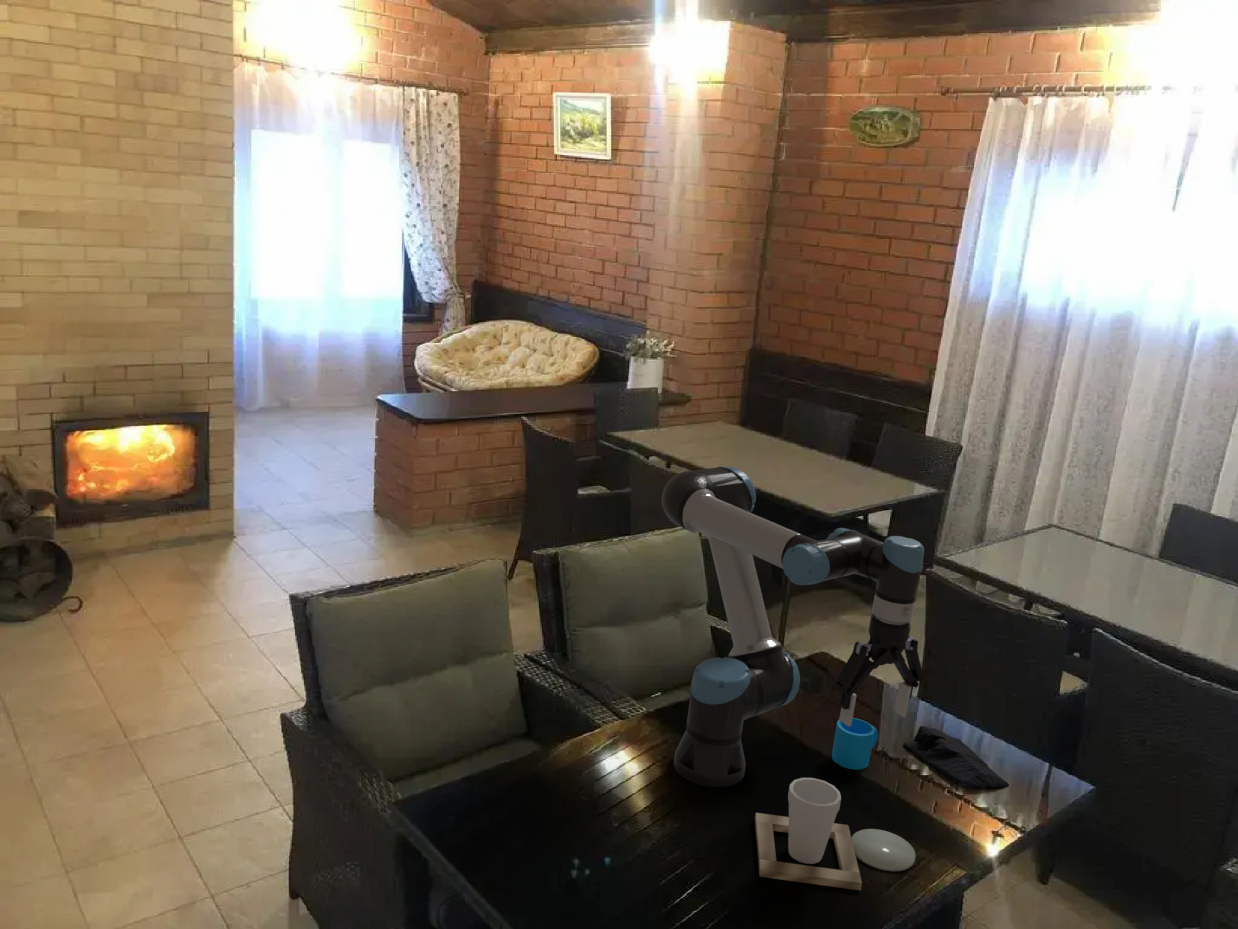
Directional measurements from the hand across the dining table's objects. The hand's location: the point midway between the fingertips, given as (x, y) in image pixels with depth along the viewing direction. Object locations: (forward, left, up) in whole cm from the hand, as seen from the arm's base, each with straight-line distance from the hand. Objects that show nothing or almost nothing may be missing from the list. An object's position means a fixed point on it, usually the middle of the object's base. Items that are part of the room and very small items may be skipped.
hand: (872, 718), depth 200 cm
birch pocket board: (-11, -15, -22) cm, 29 cm away
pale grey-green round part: (+3, -11, -22) cm, 24 cm away
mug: (+3, +24, -22) cm, 33 cm away
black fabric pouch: (+26, +27, -22) cm, 44 cm away
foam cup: (-12, -15, -22) cm, 29 cm away
